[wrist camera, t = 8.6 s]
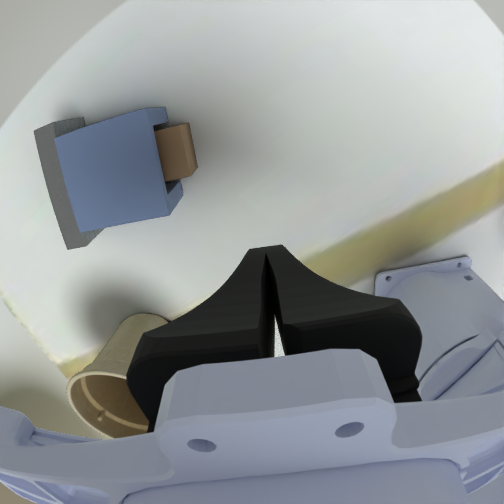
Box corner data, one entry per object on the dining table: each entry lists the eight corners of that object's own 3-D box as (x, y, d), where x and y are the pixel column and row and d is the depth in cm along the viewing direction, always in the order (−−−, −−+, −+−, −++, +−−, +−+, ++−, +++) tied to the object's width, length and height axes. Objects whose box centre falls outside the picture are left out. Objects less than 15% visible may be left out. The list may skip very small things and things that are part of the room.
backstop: (83, 117, 18) (52, 122, 15) (109, 223, 22) (86, 246, 18) (65, 123, 18) (33, 130, 15) (92, 226, 22) (67, 249, 18)
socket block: (165, 107, 18) (145, 108, 14) (183, 195, 21) (169, 215, 17) (84, 130, 18) (54, 138, 15) (105, 211, 21) (80, 232, 17)
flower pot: (165, 278, 24) (132, 357, 16) (225, 359, 27) (219, 440, 20) (84, 316, 25) (43, 385, 18) (145, 383, 29) (125, 453, 21)
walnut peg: (189, 122, 19) (179, 125, 16) (198, 166, 20) (190, 176, 18) (106, 144, 19) (87, 151, 17) (117, 185, 21) (99, 197, 18)
